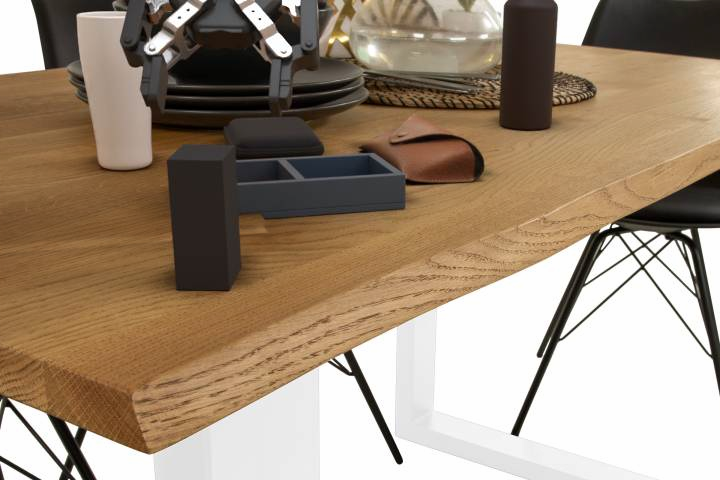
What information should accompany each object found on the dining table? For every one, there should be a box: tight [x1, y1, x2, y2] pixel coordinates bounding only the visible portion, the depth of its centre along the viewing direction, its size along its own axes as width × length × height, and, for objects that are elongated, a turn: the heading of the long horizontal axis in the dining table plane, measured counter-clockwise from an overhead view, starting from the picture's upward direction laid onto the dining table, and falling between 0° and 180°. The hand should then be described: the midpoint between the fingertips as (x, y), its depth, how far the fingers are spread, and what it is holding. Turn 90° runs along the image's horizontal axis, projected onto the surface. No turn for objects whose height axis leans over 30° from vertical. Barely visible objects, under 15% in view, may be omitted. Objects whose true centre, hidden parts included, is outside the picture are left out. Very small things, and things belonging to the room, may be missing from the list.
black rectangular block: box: [166, 143, 242, 291], centre depth 69 cm, size 4×5×9 cm
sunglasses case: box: [358, 112, 486, 185], centre depth 106 cm, size 18×7×7 cm, turn 22°
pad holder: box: [236, 152, 406, 220], centre depth 90 cm, size 10×18×3 cm, turn 111°
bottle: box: [498, 0, 559, 131], centre depth 126 cm, size 7×7×20 cm
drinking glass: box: [76, 11, 154, 171], centre depth 100 cm, size 7×7×15 cm
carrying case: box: [219, 116, 325, 160], centre depth 109 cm, size 11×3×15 cm
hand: (215, 109), depth 72 cm, fingers open, 8 cm apart
